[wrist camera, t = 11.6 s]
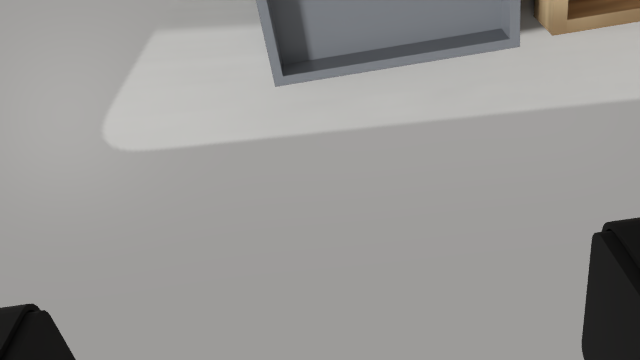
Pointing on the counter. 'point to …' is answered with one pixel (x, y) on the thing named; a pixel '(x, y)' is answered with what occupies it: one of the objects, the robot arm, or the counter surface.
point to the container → (379, 34)
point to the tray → (584, 14)
